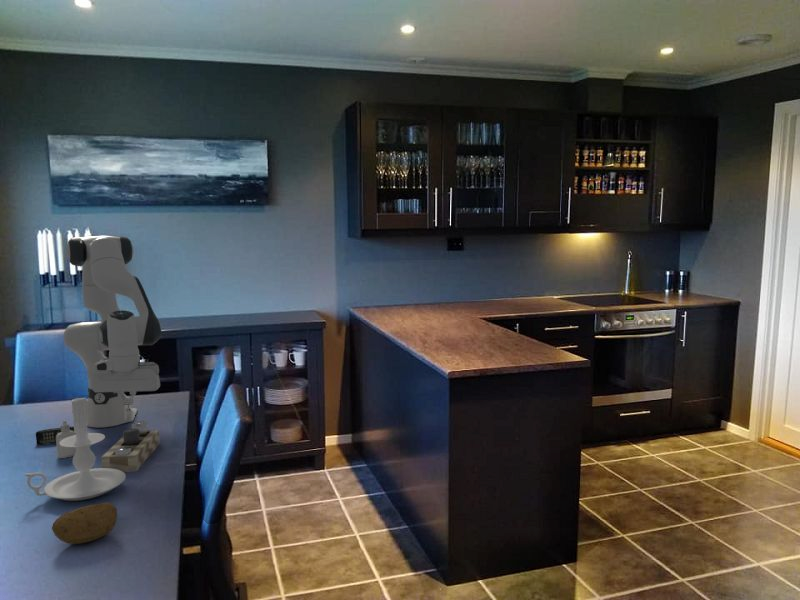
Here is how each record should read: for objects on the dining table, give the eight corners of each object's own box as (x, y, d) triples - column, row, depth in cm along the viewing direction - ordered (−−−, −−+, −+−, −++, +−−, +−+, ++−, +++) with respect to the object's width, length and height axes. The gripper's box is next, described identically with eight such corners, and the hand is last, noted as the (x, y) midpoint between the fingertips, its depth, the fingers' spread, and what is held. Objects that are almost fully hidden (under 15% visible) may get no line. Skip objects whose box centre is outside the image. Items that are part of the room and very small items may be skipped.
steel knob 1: (118, 461, 196) (117, 446, 196) (134, 461, 197) (133, 446, 196) (113, 467, 192) (112, 451, 191) (129, 466, 192) (127, 451, 191)
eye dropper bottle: (76, 457, 203) (73, 421, 202) (56, 459, 201) (53, 423, 200) (77, 452, 207) (75, 417, 206) (58, 454, 205) (56, 419, 204)
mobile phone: (34, 432, 214) (83, 426, 219) (36, 429, 217) (84, 423, 222) (36, 446, 214) (84, 439, 219) (38, 443, 217) (85, 437, 222)
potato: (51, 540, 149) (48, 509, 148) (114, 524, 157) (112, 494, 156) (56, 558, 141) (53, 525, 140) (122, 540, 149) (120, 508, 148)
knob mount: (129, 445, 214) (128, 431, 213) (159, 444, 214) (158, 430, 214) (102, 473, 190) (101, 457, 189) (136, 471, 191) (135, 455, 190)
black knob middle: (127, 443, 204) (126, 428, 203) (141, 443, 204) (140, 428, 204) (122, 448, 199) (121, 433, 199) (136, 448, 200) (135, 432, 199)
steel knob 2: (135, 435, 212) (134, 421, 211) (149, 434, 212) (148, 420, 211) (130, 439, 207) (129, 425, 207) (144, 439, 208) (143, 424, 207)
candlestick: (28, 490, 178) (19, 395, 175) (122, 473, 190) (116, 383, 186) (25, 520, 160) (16, 414, 157) (130, 498, 172) (123, 399, 169)
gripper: (161, 359, 202) (164, 400, 204) (95, 360, 200) (99, 402, 202) (155, 364, 195) (158, 406, 198) (87, 365, 194) (91, 408, 196)
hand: (127, 404), depth 200 cm, fingers closed
